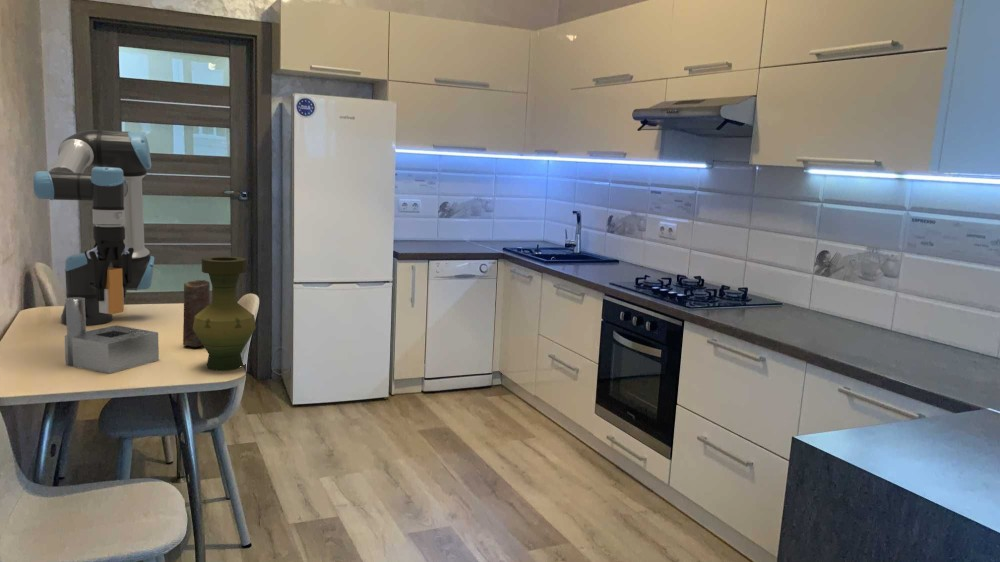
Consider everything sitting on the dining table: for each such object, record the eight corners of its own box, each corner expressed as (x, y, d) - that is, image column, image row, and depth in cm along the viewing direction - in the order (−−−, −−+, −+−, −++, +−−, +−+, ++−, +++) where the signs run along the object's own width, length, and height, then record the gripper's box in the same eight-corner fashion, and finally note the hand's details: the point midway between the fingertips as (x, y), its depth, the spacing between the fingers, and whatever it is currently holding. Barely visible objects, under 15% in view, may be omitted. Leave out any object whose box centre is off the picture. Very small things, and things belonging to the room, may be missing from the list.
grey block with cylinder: (64, 364, 192) (61, 299, 189) (116, 352, 207) (114, 290, 204) (108, 373, 186) (106, 306, 183) (158, 360, 201) (157, 297, 198)
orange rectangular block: (99, 312, 193) (98, 268, 192) (112, 310, 197) (111, 267, 195) (110, 314, 192) (109, 270, 190) (123, 311, 195) (122, 268, 194)
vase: (267, 362, 205) (267, 258, 200) (234, 376, 189) (233, 264, 185) (216, 356, 208) (215, 253, 204) (180, 370, 193) (178, 259, 188)
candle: (215, 345, 220) (214, 281, 217) (198, 350, 213) (197, 284, 210) (195, 342, 222) (194, 278, 219) (177, 347, 216) (176, 281, 213)
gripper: (90, 228, 182) (93, 318, 185) (146, 225, 197) (147, 308, 201) (69, 225, 184) (72, 314, 188) (126, 223, 200) (128, 305, 204)
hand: (111, 311), depth 194 cm, fingers closed on orange rectangular block, 4 cm apart
